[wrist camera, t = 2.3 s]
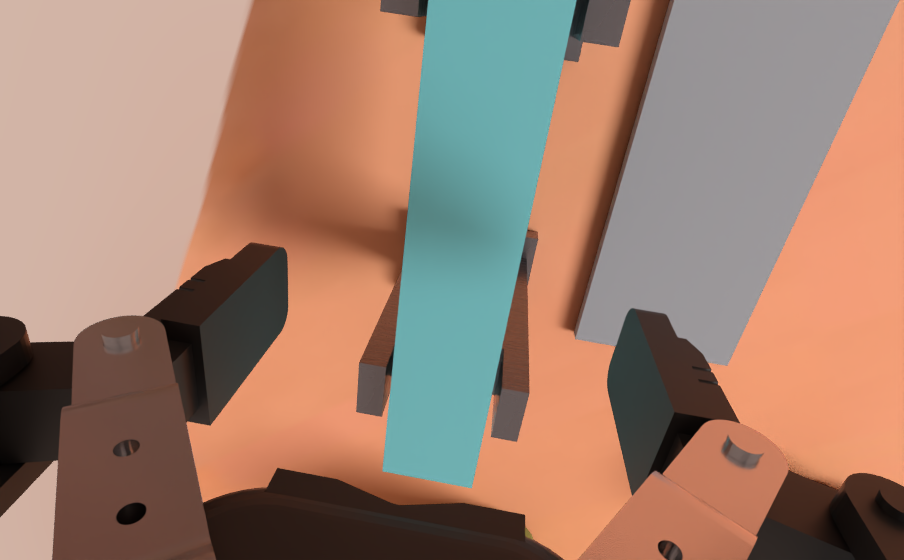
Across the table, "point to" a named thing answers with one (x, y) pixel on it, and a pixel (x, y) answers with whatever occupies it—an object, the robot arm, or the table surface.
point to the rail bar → (468, 221)
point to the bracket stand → (592, 22)
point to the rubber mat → (724, 160)
